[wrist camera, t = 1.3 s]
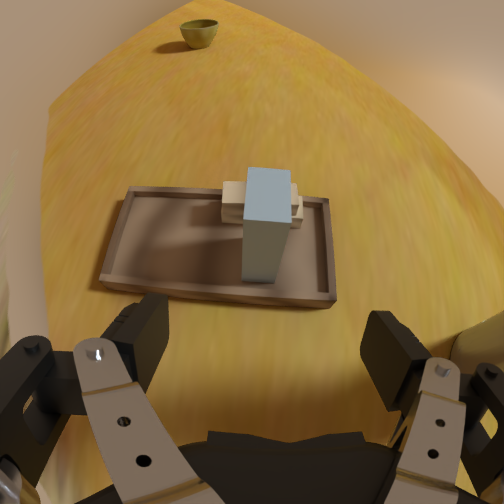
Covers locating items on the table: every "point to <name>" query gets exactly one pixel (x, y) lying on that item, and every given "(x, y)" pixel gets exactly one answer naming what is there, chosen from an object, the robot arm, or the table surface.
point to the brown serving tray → (213, 251)
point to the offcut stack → (236, 201)
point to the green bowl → (199, 32)
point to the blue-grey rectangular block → (265, 223)
